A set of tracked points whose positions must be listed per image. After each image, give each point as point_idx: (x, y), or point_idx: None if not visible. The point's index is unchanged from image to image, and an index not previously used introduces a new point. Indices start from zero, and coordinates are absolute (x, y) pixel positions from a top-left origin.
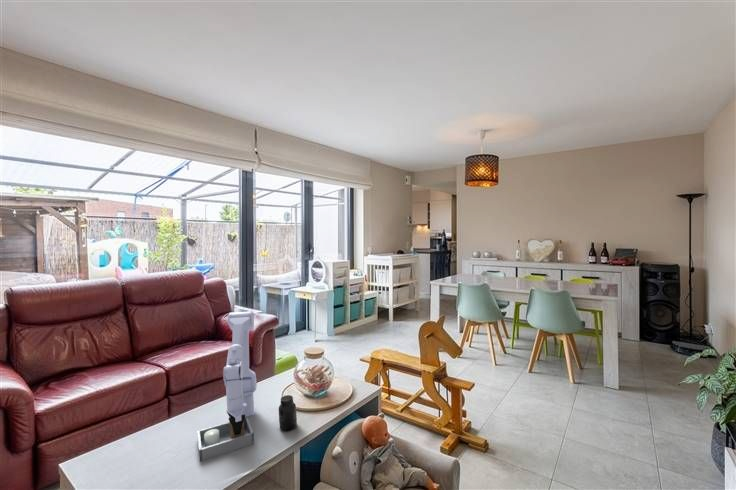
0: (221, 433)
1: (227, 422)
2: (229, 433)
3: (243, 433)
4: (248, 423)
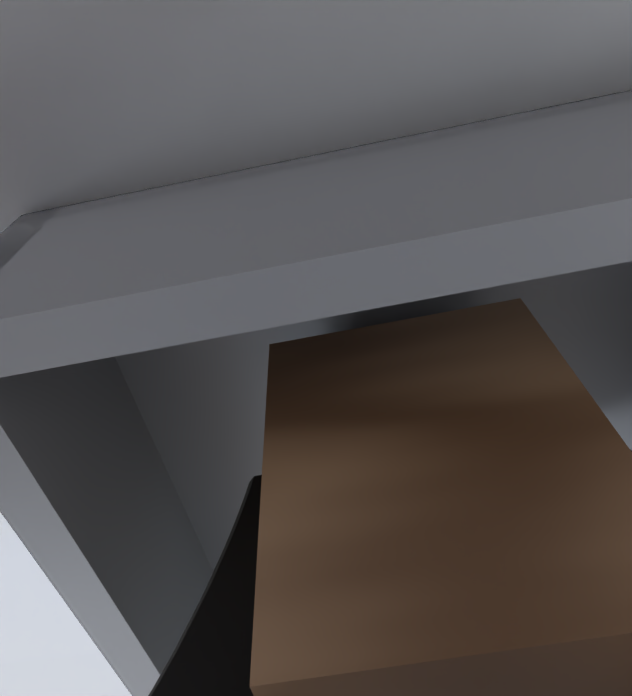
0: (207, 580)
1: (119, 660)
2: (203, 486)
3: (543, 350)
4: (314, 296)
